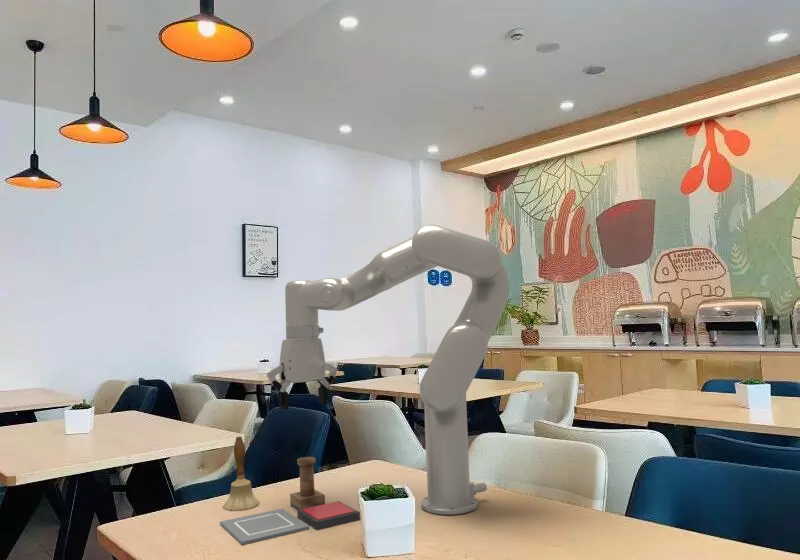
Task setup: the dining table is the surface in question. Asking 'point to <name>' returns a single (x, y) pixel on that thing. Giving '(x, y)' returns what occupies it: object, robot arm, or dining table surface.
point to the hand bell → (240, 484)
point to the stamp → (306, 486)
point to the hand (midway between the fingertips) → (303, 406)
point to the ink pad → (328, 515)
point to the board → (263, 526)
